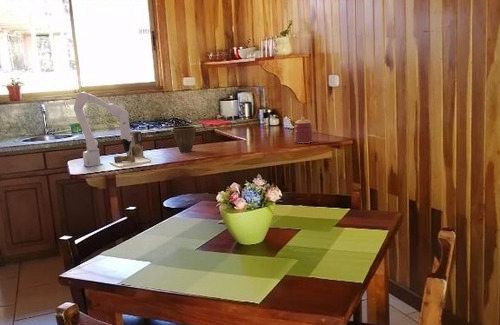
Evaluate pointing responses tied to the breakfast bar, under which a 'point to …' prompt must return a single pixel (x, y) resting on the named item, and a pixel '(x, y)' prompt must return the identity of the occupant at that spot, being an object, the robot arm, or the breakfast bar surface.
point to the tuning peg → (124, 158)
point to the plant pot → (184, 137)
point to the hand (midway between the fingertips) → (127, 151)
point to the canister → (303, 130)
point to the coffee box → (136, 145)
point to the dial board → (136, 162)
